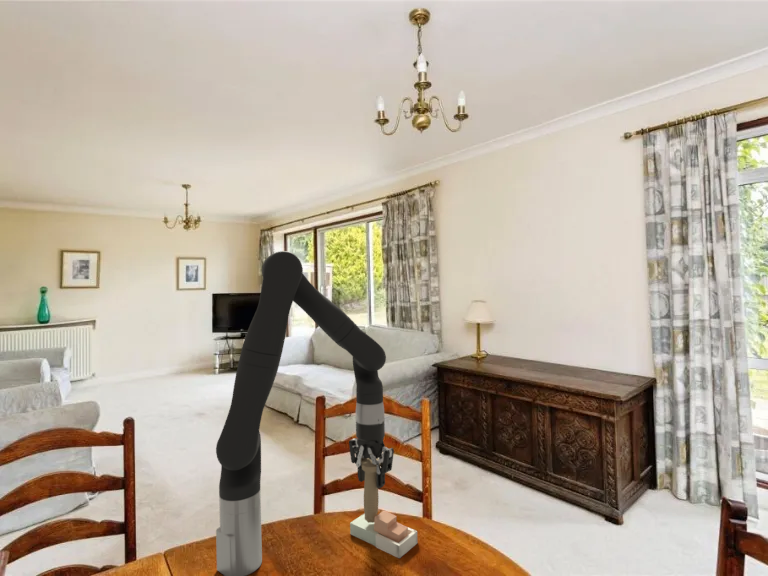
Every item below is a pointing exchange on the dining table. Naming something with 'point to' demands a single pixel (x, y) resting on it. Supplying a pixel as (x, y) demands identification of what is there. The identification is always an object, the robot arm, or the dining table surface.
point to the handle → (370, 490)
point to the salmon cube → (397, 532)
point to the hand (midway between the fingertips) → (371, 483)
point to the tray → (395, 547)
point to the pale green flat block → (363, 530)
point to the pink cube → (384, 522)
